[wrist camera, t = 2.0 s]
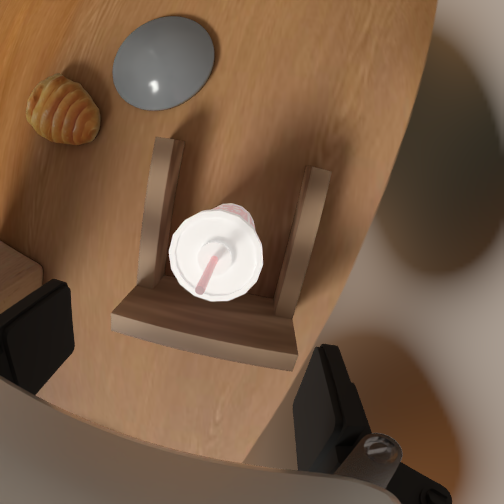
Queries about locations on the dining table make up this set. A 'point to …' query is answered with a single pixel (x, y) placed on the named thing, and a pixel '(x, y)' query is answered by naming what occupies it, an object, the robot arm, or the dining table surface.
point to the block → (17, 276)
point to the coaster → (163, 63)
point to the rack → (216, 312)
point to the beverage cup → (217, 253)
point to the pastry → (63, 111)
